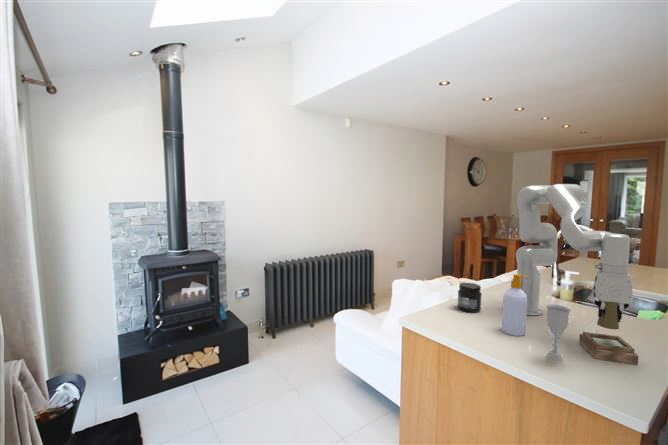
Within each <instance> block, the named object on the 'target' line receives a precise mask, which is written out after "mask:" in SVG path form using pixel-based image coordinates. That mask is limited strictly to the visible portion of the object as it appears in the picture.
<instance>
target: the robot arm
mask: <svg viewBox="0 0 668 445" xmlns="http://www.w3.org/2000/svg"><path fill="white" fill-rule="evenodd" d="M585 194H586V193H585V190H584V189H583V187H582V186H580V185H579V184H576V183H555V184H553V185H549V184H548V185H546V184H545V185H541V184H539V185H538V184H536V185H535V184H534V185H532V184H531V185H528V186H524V187H522V188H521V189H520V191H519V192H518V194H517V197H516V198H517V199H516V200H517V208H518V212H519V238H520V241H522V242H523V243H528V244H529V243H530V244H534V243H535V244H539V245H523V246H521V247H519V248H518V249H517V250H516V252H515V259H516V266H517V267H516V268H517V270H516V271H517V272H516V274H519V275H521V276H526V277H529V279H527V278H519V280H520V282H521V290H522V291H524V293H525V294H526V296H527V315H526V316H536V317H537V316H542V314H543V310H542V309H541V308H539V307H540V306H539V304H540V292H541V291H540V290H541V274H540V272H539V269H538V268H537V267H543V266H544V267H547V266H548V267H549V266H553V265H554V264H556V262H557V260H558V254H559V253H558V250H559V248H558V237H559V236H558V231H557V230H558V229H557V228H556V227H555V226H554V224H552V223H549V222H541V212H540V210H539V208H538V207H537V205H551V206H552V207H553V209H554V210H555V211H556V214H558V216H560V218H561V220H560V227H559V228H560V232H561V235H562V237H563V238H564V239H565V241H566V242H567V244H569V246H570V247H572V248H573V249H574V250H576V251H579V252H600V256H599V257H600V259H599V263H598V264H595V265H594V269H597V270H598V271H597V272H596V273H595V278H594V281H593V285H592V291H591V293H590V294H589V295H588V296H587V299H588V301H590V302H591V303H593V304H595V305H596V306H597V307H598V311H597V312H598V314H597V317H598V318H599V317H601V316H602V312H603V319H604V315H605V312H606V310H604V308H605V303H604V302H615V303H619V305H618V306H617V310H618V322H619V323H621V320H622V318H623V317H622V316H623V312H624V311H625V310H626V309H627V308H629V307H631V306H634V305H636V303H637V302H636V301H635V300H634V297H633V292H634V291H633V280H632V275H631V274H629V273H628V271H629V260H630V250H631V249H630V247H631V237H630V236H629V235H627V234H624V233H613V232H610V231H606V230H582V229H581V227H580V226H579V225H578V224H577V223H576V221H577V220H579V219H581V217H582V216H584V214H585V213H586V208H585V206H584V205H583V204H582V202H583V200H584V199H585V197H586V195H585ZM595 298H596V299H595Z"/></svg>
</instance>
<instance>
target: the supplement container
mask: <svg viewBox="0 0 668 445" xmlns="http://www.w3.org/2000/svg"><path fill="white" fill-rule="evenodd" d="M458 288H459V289H458V291H457V293H458V294H457V308H458V309H459V310H461V311H462V312H465V313H471V314H473V313H474V314H475V313H479V312H480V311H481V309H482V306H481V305H482V292H481V291H482V288H481V285H479V284H477V283H473V282H461V283H459V286H458Z"/></svg>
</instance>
